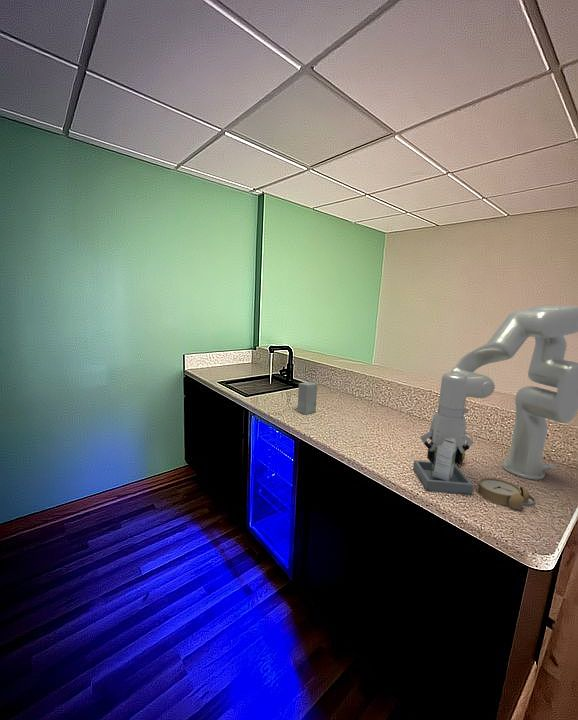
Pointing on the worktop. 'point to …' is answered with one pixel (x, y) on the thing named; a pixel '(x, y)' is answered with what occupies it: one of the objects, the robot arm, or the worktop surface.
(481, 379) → the robot arm
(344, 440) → the worktop surface
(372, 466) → the worktop surface
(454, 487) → the tray
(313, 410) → the skincare box
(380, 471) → the worktop surface
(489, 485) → the alarm clock
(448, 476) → the syrup box
